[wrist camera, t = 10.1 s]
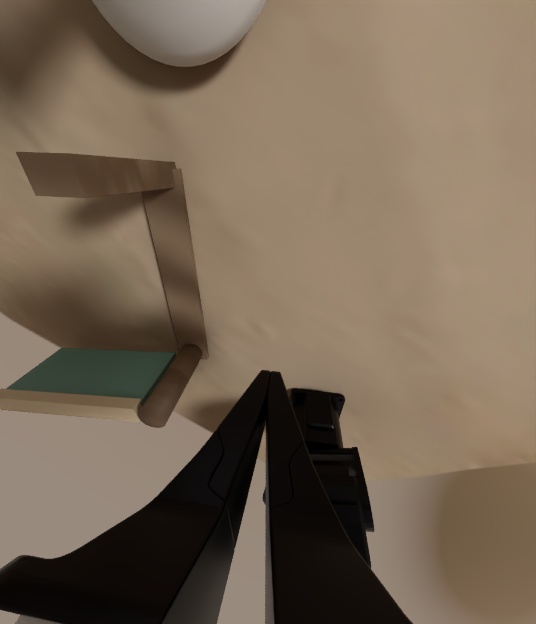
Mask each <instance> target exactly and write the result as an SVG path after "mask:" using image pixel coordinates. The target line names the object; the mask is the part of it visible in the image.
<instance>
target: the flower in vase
mask: <svg viewBox="0 0 536 624" xmlns="http://www.w3.org/2000/svg"><path fill="white" fill-rule="evenodd" d="M92 1H93V3H94V4H95V6H96V7H97V9H98V10H99V12H100V13H101V14H102V16H103V17H104V18H105V19H106V20H107V22H108V23H109V24H110V25H111V26H112V28H113V29H114V30H115V31H116V32H117V33H118V34H119V35H120V36H121V37H122V38H123V39H124V40H125V41H126V42H128V43H129V44H130V45H131V46H133V47H134V48H135V49H137V50H138V51H139V52H141V53H143V54H144V55H146V56H148V57H149V58H151V59H153V60H156V61H158V62H161V63H164V64H167V65H172V66H177V67H192V66H198V65H203V64H206V63H208V62H211V61H213V60H216V59H217V58H219V57H220V56H222V55H224V54H225V53H227V52H228V51H229V50H230V49H231V48H233V47H234V46H235V45H236V44H237V43H238V42H239V41H240V40H241V39H242V38H243V37H244V35H245V34H246V33H247V32H248V31H249V29H250V28H251V27H252V25H253V23H254V22H255V20H256V19H257V17H258V16H259V14H260V13H261V11H262V9H263V7H264V5H265V3H266V1H267V0H92Z"/></svg>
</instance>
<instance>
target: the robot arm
mask: <svg viewBox="0 0 536 624" xmlns="http://www.w3.org/2000/svg"><path fill="white" fill-rule="evenodd" d="M344 402H345V397H344V396H343V395H340V394H332V393H324V392H315V391H307V390H299V389H293V390H291V396H290V399H289V396H288V393H287V390H286V387H285V384H284V381H283V379H282V376H281V373H280V372H276V371H271V372H270V371H267V370H262V371H260V373H259V374H258V375H257V377H256V378H255V379H254V381H253V382H252V383H251V385H250V386H249V387H248V389H247V390H246V391H245V393H244V394H243V395H242V396H241V398H240V399H239V400H238V402H237V403H236V404H235V406H234V407H233V408H232V410H231V411H230V412H229V414H228V415H227V416H226V418H225V419H224V420H223V421H222V423H221V424H220V425H219V427H218V428H217V430H216V431H215V432H214V433H213V434H212V436H211V437H210V438H209V440H208V441H207V442H206V444H205V445H204V446H203V447H202V448H201V450H200V451H199V452H198V453H197V454H196V455H195V456H194V457H193V459H192V460H191V461H190V462H189V463H188V464H187V465H186V466H185V467H184V468H183V469H182V470H181V471H180V472H179V473H178V475H177V476H176V477H175V478H174V479H173V480H172V481H171V482H170V483H169V484H168V485H167V486H166V487H165V488H164V489H163V491H161V492H160V494H159V495H158V496H157V497H155V498H154V499H153V500H152V501H151V502H150V503H149V504H147V505H146V506H145V507H143V508H142V509H141V510H139V511H138V512H136V513H134V514H133V515H131V516H130V517H128V518H127V519H125V520H123V521H122V522H120V523H118V524H117V525H115V526H114V527H112V528H110V529H109V530H107V531H106V532H104V533H102V534H101V535H99V536H98V537H96V538H95V539H93V540H92V541H90V542H88V543H87V544H85V545H83V546H82V547H80V548H78V549H77V550H75V551H73V552H71V553H69V554H66V555H64V556H62V557H58V558H54V559H44V558H40V557H34V556H28V555H21V556H18V557H17V558H15V559H14V560H13V561H11V562H10V563H8V564H7V565H6V566H4V567H3V568H1V569H0V610H3V611H7V612H12V613H16V614H20V617H19V618H18V620H17V622H16V623H15V624H217V620H218V616H219V611H220V607H221V603H222V599H223V595H224V591H225V586H226V583H227V579H228V574H229V571H230V566H231V562H232V558H233V554H234V548H235V545H236V542H237V538H238V533H239V529H240V525H241V521H242V517H243V513H244V509H245V505H246V501H247V497H248V492H249V488H250V484H251V480H252V476H253V472H254V468H255V464H256V460H257V455H258V451H259V447H260V443H261V439H262V435H263V431H264V427H265V422H266V487H265V490H264V493H263V501H264V503H265V505H266V561H265V562H266V563H265V566H266V567H265V583H266V584H265V592H266V593H265V624H413V623H412V622H411V621H410V620H409V619H408V618H407V617H406V615H405V614H404V613H403V611H402V610H401V609H400V607H399V606H398V605H397V603H396V602H395V601H394V599H393V598H392V597H391V595H390V594H389V593H388V591H387V590H386V589H385V587H384V586H383V585H382V583H381V582H380V581H379V579H378V578H377V577H376V575H375V574H374V573H373V571H372V570H371V561H370V555H369V549H368V543H367V537H366V531H367V532H374V524H373V518H372V512H371V506H370V501H369V496H368V491H367V486H366V482H365V478H364V474H363V469H362V465H361V461H360V457H359V452H358V448H357V447H352V448H343V442H342V436H341V429H340V423H339V417H340V414H341V411H342V408H343V405H344Z"/></svg>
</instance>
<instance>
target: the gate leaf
mask: <svg viewBox="0 0 536 624" xmlns="http://www.w3.org/2000/svg"><path fill="white" fill-rule="evenodd" d="M175 358H176V353H175V352H150V351H126V350H101V349H76V348H61V349H60V350H58V351H57V352H56V353H54V354H53V355H51V356H50V357H49V358H47V359H46V360H45V361H43V362H42V363H40V364H39V365H38V366H36V367H35V368H34V369H32V370H31V371H30V372H28V373H27V374H25V375H24V376H23V377H21V378H20V379H19V380H17V381H16V382H15V383H13V384H12V385H11V386H9V387H8V388H7V389H0V409H2V410H9V411H21V412H32V413H44V414H56V415H66V416H78V417H90V418H101V419H113V420H124V421H135V422H141V420H140V419H139V418H138V412H139V411H140V410H141V408H142V407H143V405H144V404H145V402H146V401H147V399H148V398H149V396H150V395H151V393H152V392H153V390H154V389H155V387H156V386H157V384H158V383H159V381H160V380H161V379H162V377H163V376H164V374H165V373H166V371H167V370H168V368H169V367H170V365H171V364H172V362H173V361H174V359H175Z"/></svg>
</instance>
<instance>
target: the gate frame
mask: <svg viewBox="0 0 536 624" xmlns="http://www.w3.org/2000/svg"><path fill="white" fill-rule="evenodd" d="M16 154H17V156H18V158H19V160H20V162H21V165H22V167H23V169H24V171H25V173H26V175H27V178H28V180H29V182H30V184H31V186H32V188H33V191H34V193H35V195H36V196H54V197H74V198H89V197H98V196H107V195H115V194H124V193H132V192H141V191H142V195H143V200H144V204H145V208H146V212H147V217H148V221H149V225H150V229H151V233H152V238H153V242H154V246H155V250H156V254H157V259H158V263H159V267H160V271H161V275H162V280H163V284H164V288H165V292H166V297H167V301H168V305H169V309H170V313H171V318H172V322H173V326H174V330H175V334H176V339H177V343H178V347H179V351H180V352H179V353H178V355H177V356H176V358H175V359H174V361H173V362H172V364H171V365H170V367H169V368H168V370H167V371H166V373H165V374H164V376H163V377H162V379H161V380H160V381H159V383H158V384H157V386H156V387H155V389H154V390H153V392H152V393H151V395H150V396H149V398H148V399H147V401H146V402H145V404H144V405H143V407H142V408H141V410H140V411H139V412H138V418H139V419H140V420H141V421H142V422H143V423H145V424H146V425H148V426H151V427H156V428H160V427H163V426H165V424H166V422H167V420H168V419H169V417H170V415H171V413H172V411H173V409H174V408H175V406H176V404H177V402H178V400H179V398H180V396H181V395H182V393H183V391H184V389H185V387H186V385H187V383H188V381H189V380H190V378H191V376H192V374H193V372H194V370H195V368H196V367H197V365H198V363H199V361H200V359H206V360H207V359H208V357H209V354H208V347H207V341H206V334H205V327H204V320H203V314H202V307H201V300H200V294H199V287H198V280H197V273H196V267H195V260H194V253H193V246H192V240H191V233H190V226H189V219H188V213H187V206H186V199H185V192H184V186H183V179H182V172H181V169H176V166H175V162H165V161H153V160H141V159H129V158H117V157H105V156H93V155H80V154H67V153H34V152H16Z"/></svg>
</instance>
